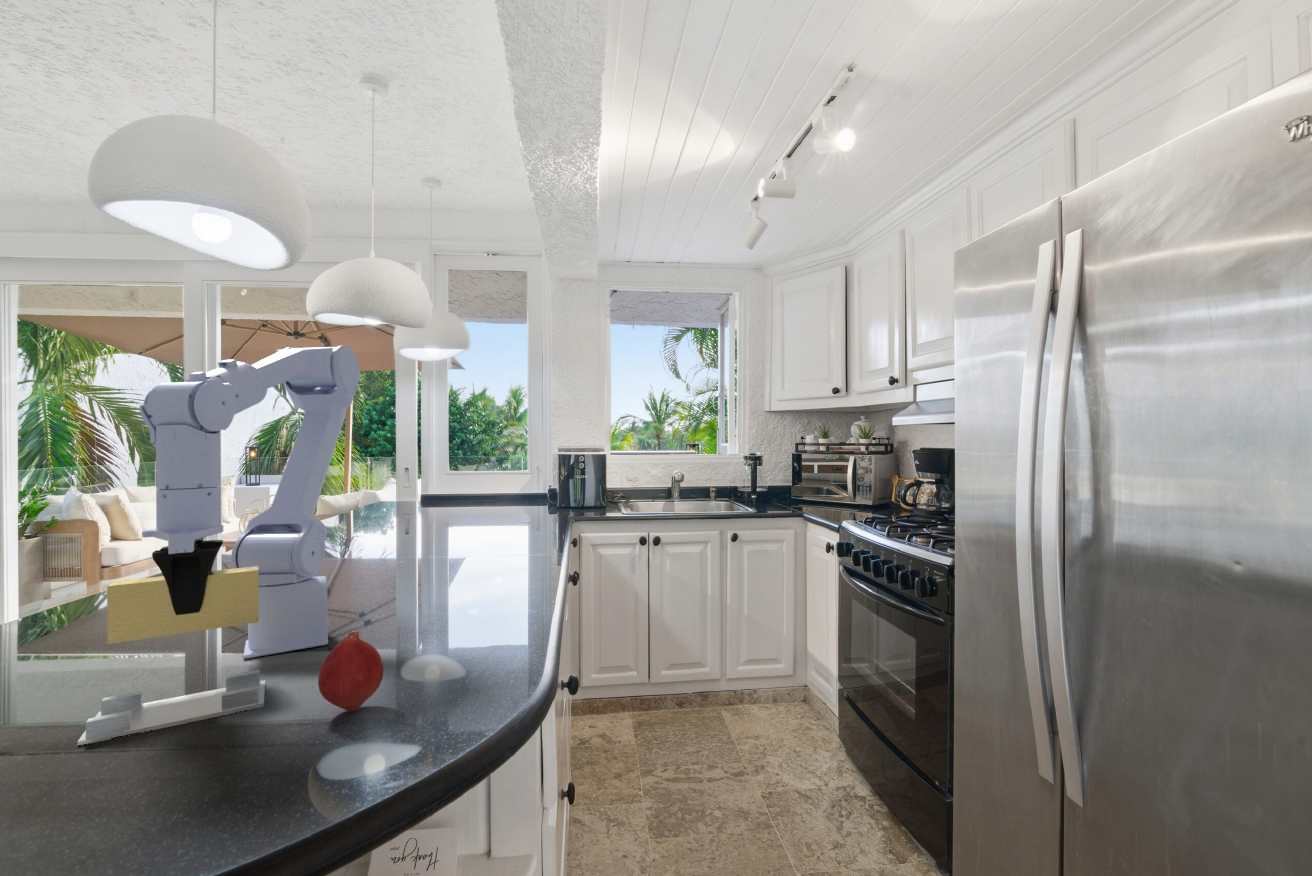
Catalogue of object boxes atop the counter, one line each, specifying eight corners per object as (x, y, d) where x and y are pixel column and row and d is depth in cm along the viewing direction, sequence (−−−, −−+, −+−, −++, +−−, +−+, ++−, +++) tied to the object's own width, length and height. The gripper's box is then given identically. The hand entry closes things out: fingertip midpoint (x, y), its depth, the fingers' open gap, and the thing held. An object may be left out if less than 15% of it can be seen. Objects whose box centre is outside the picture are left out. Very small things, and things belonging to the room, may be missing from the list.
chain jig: (265, 683, 67) (265, 666, 67) (263, 706, 61) (263, 688, 61) (98, 715, 60) (98, 696, 60) (77, 746, 53) (77, 724, 53)
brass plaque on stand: (259, 616, 71) (258, 566, 71) (258, 622, 68) (258, 570, 68) (114, 637, 64) (113, 581, 64) (107, 644, 61) (107, 586, 61)
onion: (317, 729, 55) (316, 643, 56) (320, 706, 61) (319, 628, 61) (385, 715, 58) (384, 633, 58) (382, 694, 63) (381, 619, 63)
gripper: (154, 487, 70) (155, 602, 70) (128, 493, 58) (129, 632, 58) (227, 484, 74) (228, 593, 74) (217, 489, 62) (218, 619, 62)
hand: (190, 609), depth 66 cm, fingers closed on brass plaque on stand, 3 cm apart
